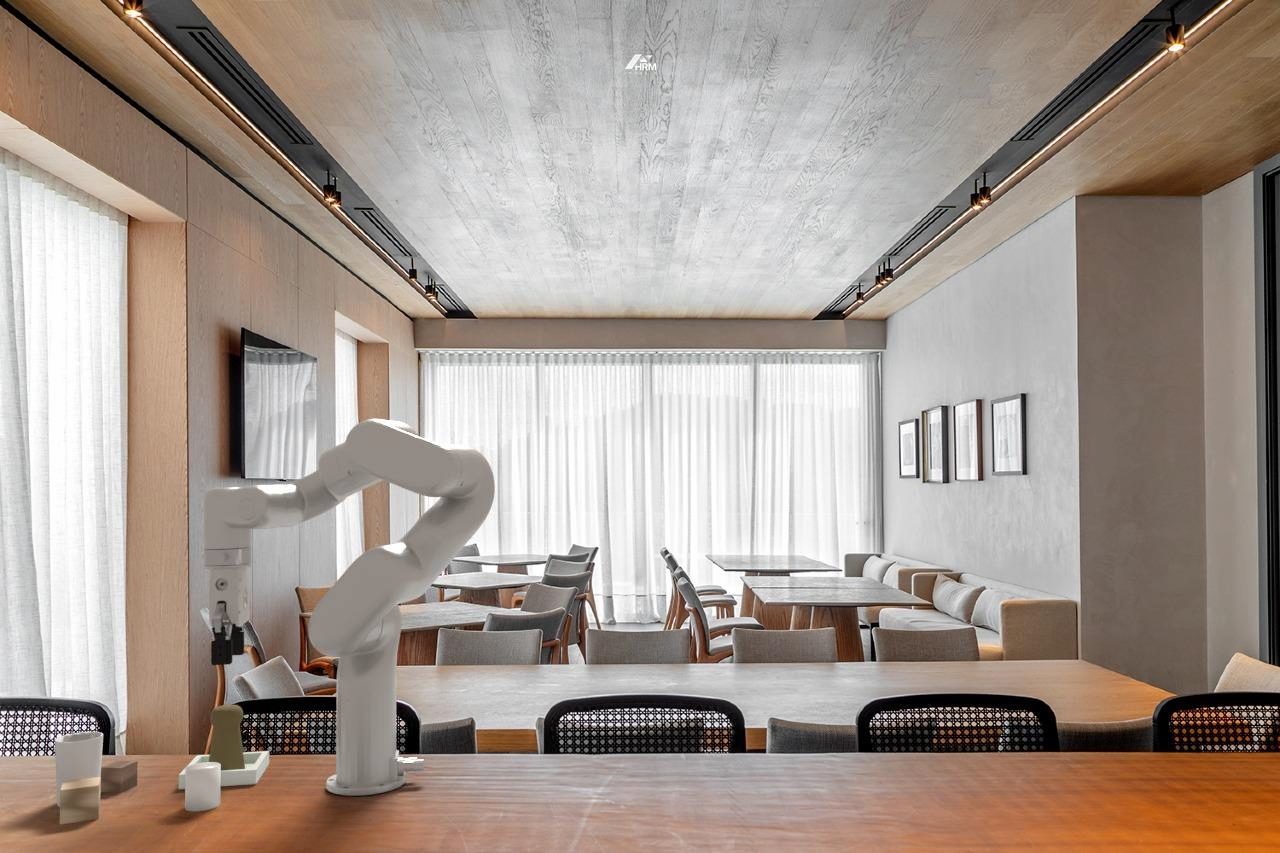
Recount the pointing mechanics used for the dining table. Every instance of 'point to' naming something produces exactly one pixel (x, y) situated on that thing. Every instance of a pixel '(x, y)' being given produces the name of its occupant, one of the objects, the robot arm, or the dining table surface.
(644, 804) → the dining table surface
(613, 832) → the dining table surface
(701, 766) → the dining table surface
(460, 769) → the dining table surface
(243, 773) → the tray
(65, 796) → the oak block
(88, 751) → the drinking glass
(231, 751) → the olive rounded tall piece
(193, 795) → the white rounded cylinder
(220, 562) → the robot arm
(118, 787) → the walnut block
